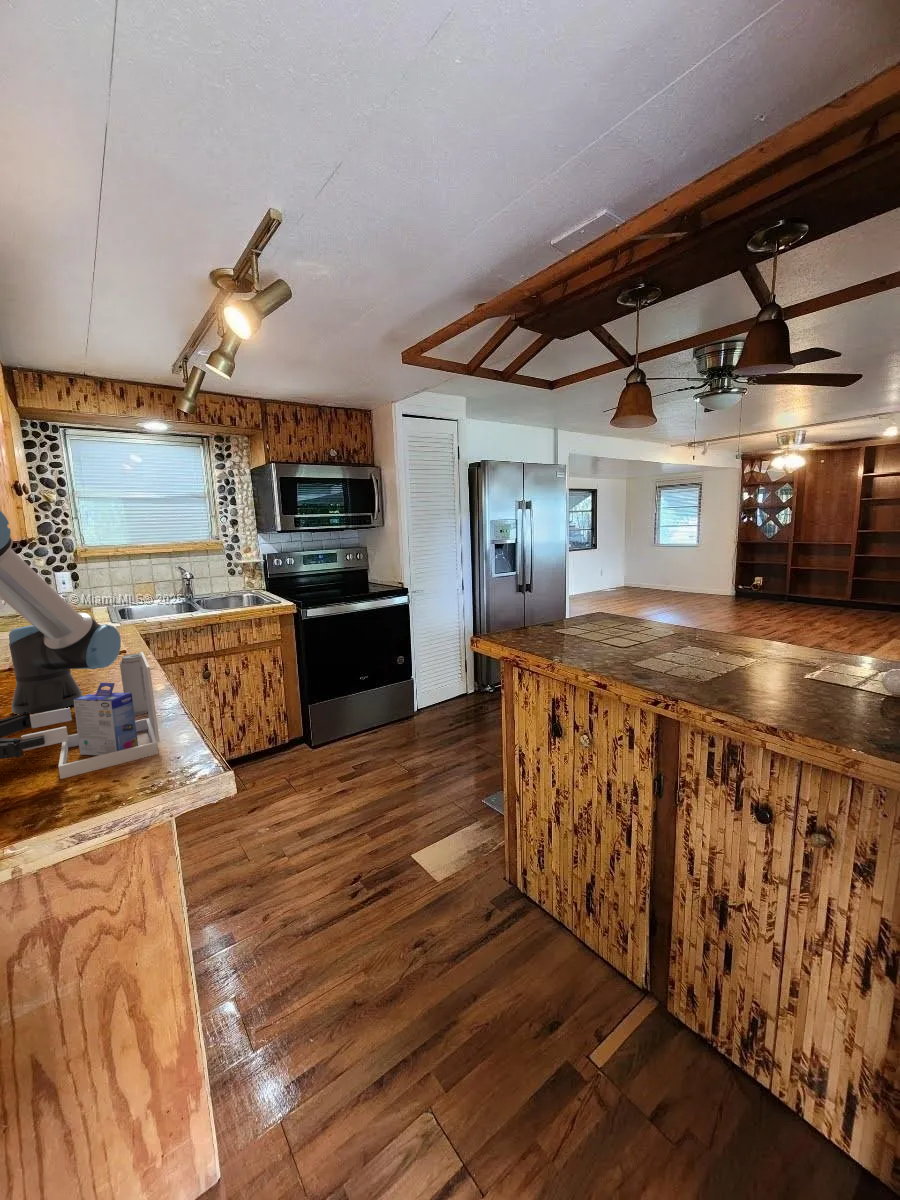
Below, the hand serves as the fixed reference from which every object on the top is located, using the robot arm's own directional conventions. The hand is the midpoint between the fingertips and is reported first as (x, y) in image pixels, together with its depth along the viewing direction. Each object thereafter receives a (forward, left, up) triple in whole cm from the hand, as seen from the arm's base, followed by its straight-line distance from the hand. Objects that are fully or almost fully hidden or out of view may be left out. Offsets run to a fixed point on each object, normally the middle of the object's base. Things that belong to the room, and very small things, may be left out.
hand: (69, 723), depth 99 cm
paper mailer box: (-1, +6, -8) cm, 10 cm away
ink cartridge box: (-1, +6, -8) cm, 10 cm away
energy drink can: (-25, +13, -8) cm, 29 cm away
